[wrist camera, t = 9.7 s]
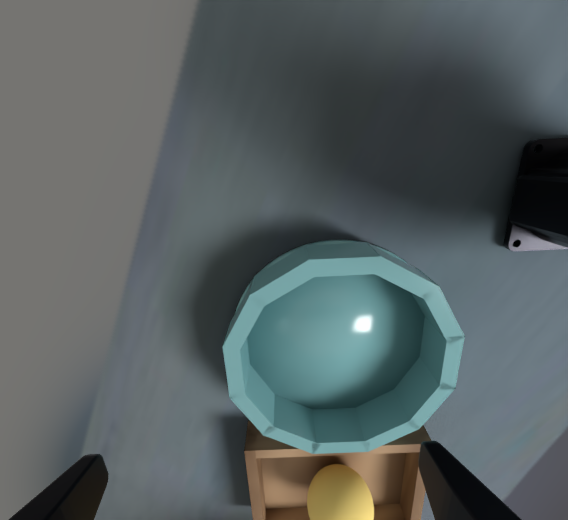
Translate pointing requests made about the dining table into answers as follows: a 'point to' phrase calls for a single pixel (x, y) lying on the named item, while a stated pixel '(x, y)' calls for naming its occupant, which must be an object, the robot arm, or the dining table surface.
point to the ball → (339, 495)
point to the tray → (304, 466)
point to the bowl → (341, 348)
